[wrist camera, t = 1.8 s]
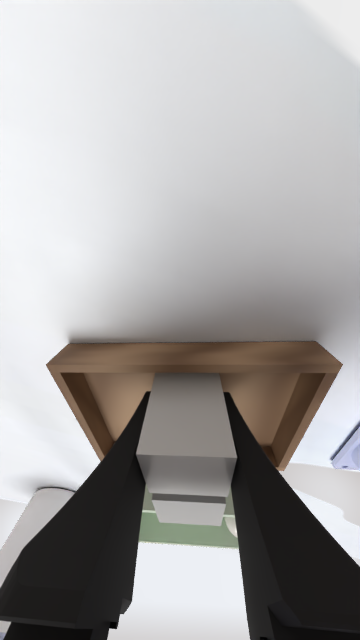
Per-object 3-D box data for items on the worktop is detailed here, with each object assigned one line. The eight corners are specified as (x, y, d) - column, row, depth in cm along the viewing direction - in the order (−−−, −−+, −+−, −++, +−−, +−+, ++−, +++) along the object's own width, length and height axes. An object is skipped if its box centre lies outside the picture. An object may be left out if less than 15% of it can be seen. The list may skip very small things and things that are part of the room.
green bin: (266, 459, 17) (287, 518, 14) (249, 501, 23) (260, 550, 19) (117, 454, 18) (100, 507, 15) (136, 495, 24) (127, 541, 20)
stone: (213, 412, 13) (226, 503, 9) (211, 439, 15) (220, 526, 11) (163, 411, 13) (151, 500, 9) (167, 438, 15) (159, 522, 11)
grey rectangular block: (217, 365, 11) (237, 457, 6) (214, 404, 13) (227, 496, 8) (157, 365, 11) (135, 454, 7) (162, 403, 13) (149, 492, 9)
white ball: (247, 496, 20) (256, 535, 18) (244, 504, 22) (252, 542, 19) (223, 494, 21) (228, 533, 18) (221, 503, 22) (226, 540, 19)
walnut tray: (316, 341, 10) (342, 364, 8) (273, 444, 16) (283, 470, 14) (68, 343, 11) (45, 364, 9) (111, 439, 17) (102, 463, 15)
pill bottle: (92, 493, 24) (-23, 803, 11) (84, 508, 28) (-9, 757, 15) (36, 481, 23) (-167, 812, 10) (35, 499, 27) (-114, 759, 14)
